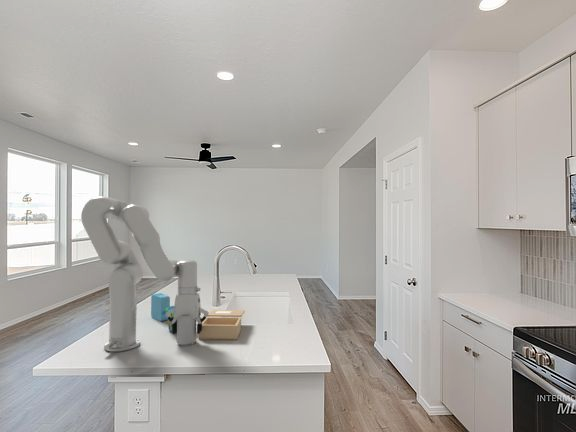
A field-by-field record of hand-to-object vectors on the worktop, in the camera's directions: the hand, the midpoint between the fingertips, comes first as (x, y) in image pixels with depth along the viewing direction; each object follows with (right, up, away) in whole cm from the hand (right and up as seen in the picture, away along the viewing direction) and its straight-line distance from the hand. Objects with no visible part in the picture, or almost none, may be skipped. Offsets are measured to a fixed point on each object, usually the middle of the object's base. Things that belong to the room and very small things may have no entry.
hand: (187, 332), depth 133 cm
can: (0, -4, 0) cm, 4 cm away
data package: (-24, -5, +34) cm, 42 cm away
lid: (+12, +2, +23) cm, 26 cm away
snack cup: (-9, -5, +16) cm, 19 cm away
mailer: (+12, -5, +10) cm, 16 cm away
